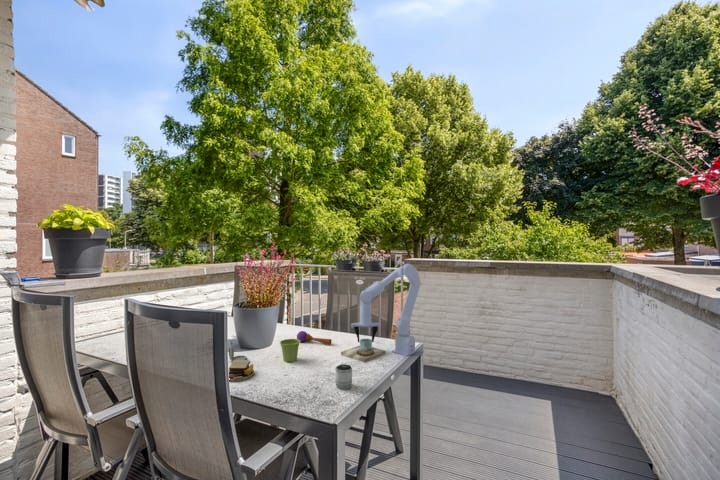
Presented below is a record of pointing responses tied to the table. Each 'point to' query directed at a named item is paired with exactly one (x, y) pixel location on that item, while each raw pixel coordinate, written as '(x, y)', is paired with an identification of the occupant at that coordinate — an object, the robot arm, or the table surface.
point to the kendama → (311, 338)
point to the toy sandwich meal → (240, 370)
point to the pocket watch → (231, 354)
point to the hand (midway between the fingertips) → (365, 341)
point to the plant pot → (290, 349)
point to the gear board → (363, 353)
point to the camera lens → (343, 376)
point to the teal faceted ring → (366, 343)
